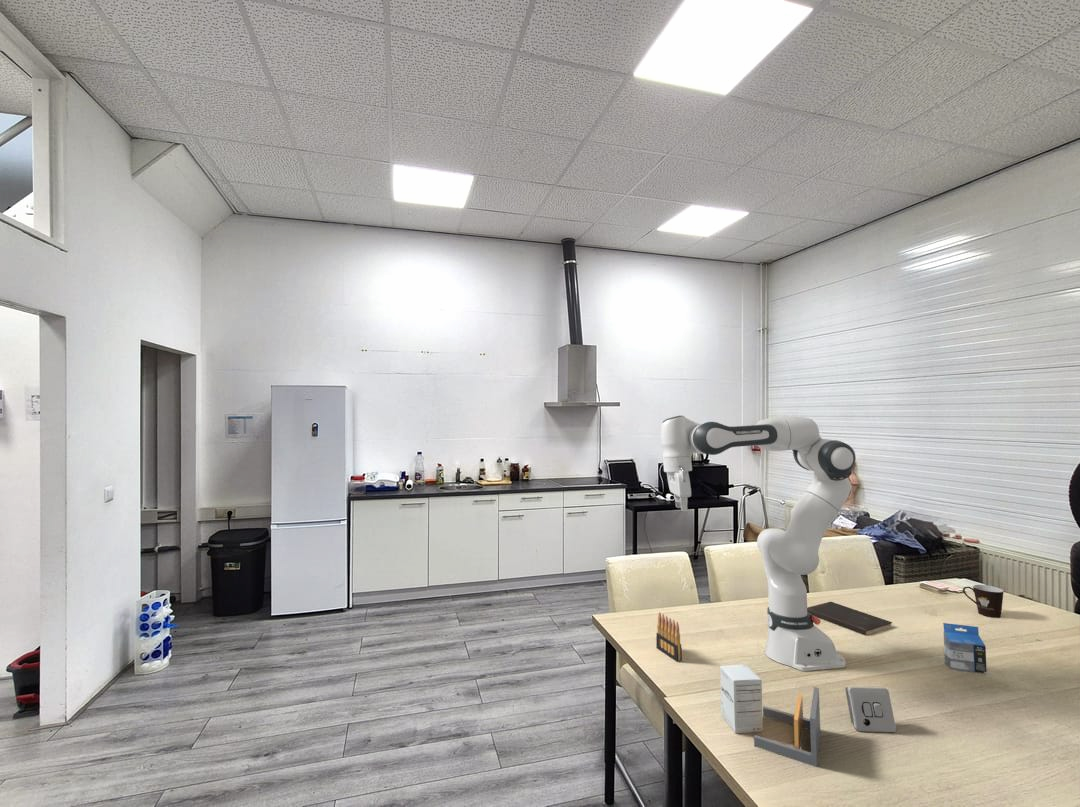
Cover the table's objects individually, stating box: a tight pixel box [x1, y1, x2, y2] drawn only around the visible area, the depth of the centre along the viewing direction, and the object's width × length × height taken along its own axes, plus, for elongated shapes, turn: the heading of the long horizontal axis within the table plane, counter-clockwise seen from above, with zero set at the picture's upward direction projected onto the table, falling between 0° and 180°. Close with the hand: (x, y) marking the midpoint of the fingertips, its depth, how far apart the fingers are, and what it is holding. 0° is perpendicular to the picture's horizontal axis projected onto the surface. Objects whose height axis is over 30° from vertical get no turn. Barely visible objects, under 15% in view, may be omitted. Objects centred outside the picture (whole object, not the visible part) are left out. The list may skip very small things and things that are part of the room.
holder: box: [753, 686, 821, 768], centre depth 112 cm, size 12×14×10 cm
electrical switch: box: [844, 686, 897, 733], centre depth 117 cm, size 9×5×9 cm, turn 86°
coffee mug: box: [962, 584, 1004, 619], centre depth 185 cm, size 12×9×10 cm
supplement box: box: [719, 664, 764, 734], centre depth 118 cm, size 7×7×13 cm
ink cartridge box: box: [942, 622, 988, 675], centre depth 143 cm, size 9×4×12 cm, turn 70°
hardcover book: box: [807, 601, 893, 637], centre depth 180 cm, size 16×23×2 cm
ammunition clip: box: [656, 611, 683, 663], centre depth 154 cm, size 11×2×12 cm, turn 24°
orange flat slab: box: [793, 693, 804, 749], centre depth 111 cm, size 1×12×7 cm, turn 147°
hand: (681, 509), depth 153 cm, fingers open, 8 cm apart
